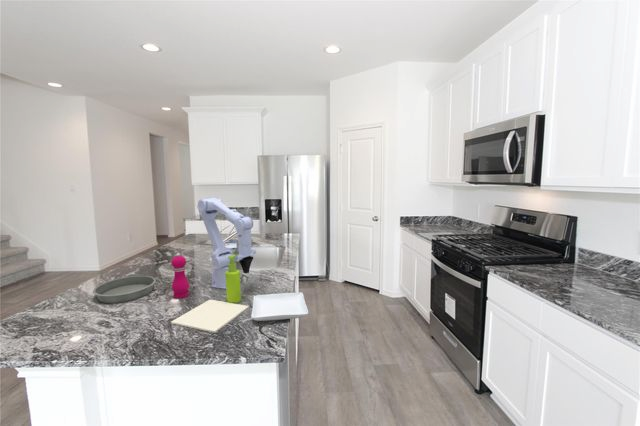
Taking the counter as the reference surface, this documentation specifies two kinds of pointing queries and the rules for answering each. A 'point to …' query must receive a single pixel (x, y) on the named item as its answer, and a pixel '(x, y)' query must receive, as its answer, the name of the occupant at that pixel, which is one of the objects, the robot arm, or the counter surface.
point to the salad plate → (279, 306)
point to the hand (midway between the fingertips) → (246, 272)
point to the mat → (210, 315)
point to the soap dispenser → (233, 282)
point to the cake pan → (124, 289)
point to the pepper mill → (179, 277)
